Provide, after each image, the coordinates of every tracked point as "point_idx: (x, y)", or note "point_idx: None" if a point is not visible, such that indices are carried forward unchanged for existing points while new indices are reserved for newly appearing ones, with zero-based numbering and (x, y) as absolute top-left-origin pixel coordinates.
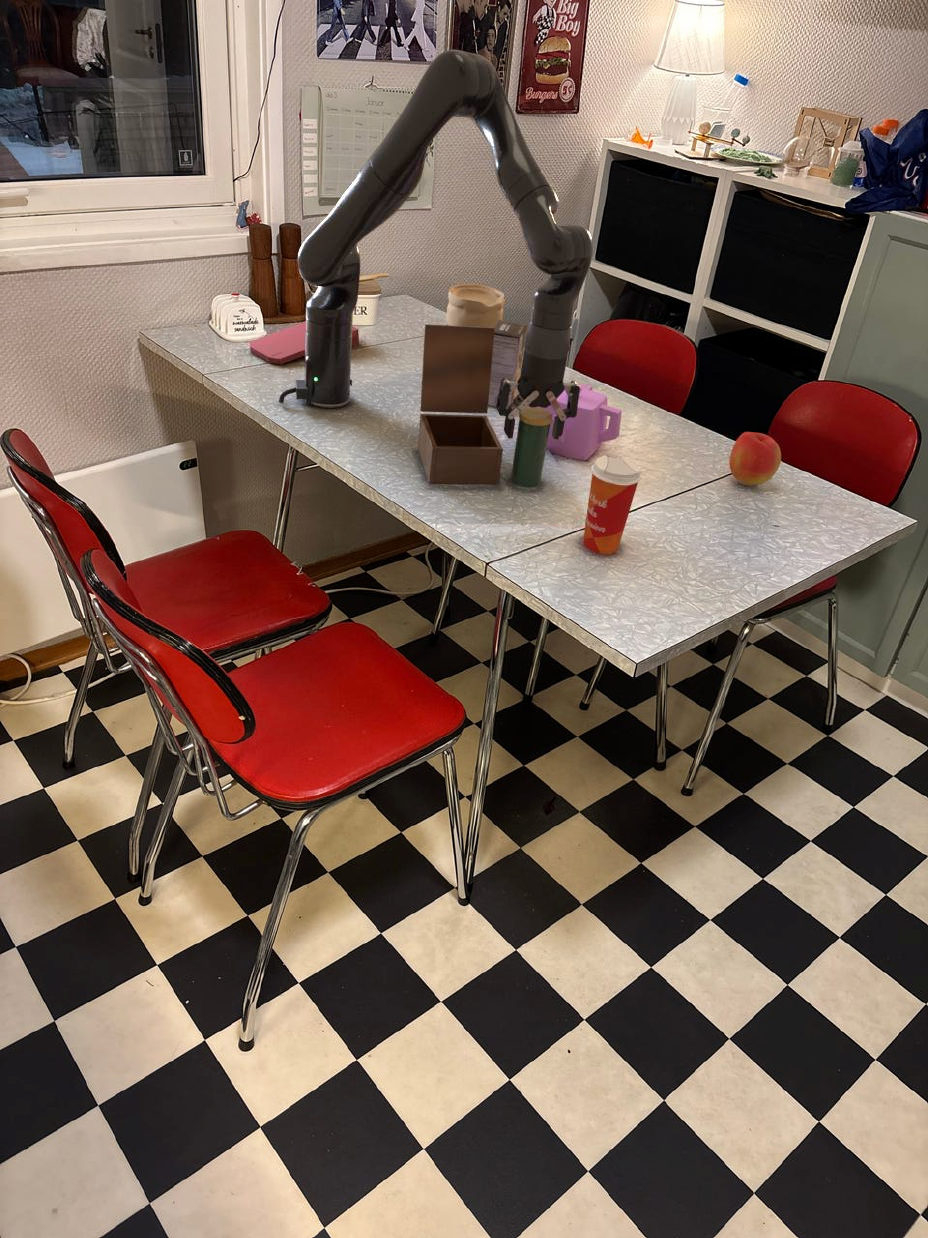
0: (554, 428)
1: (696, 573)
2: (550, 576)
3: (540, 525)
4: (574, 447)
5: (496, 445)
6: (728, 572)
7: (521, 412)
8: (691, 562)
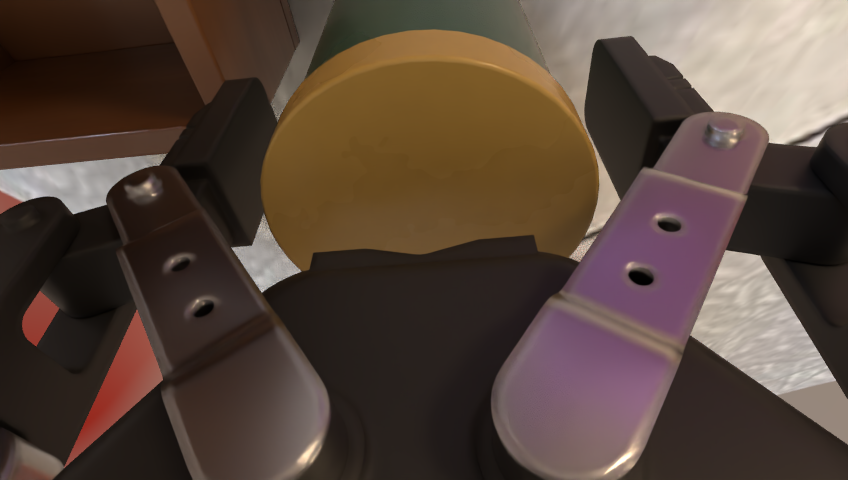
0: (610, 107)
1: (729, 355)
2: None
3: None
4: None
5: (202, 98)
6: (805, 349)
7: (281, 214)
8: (751, 331)
